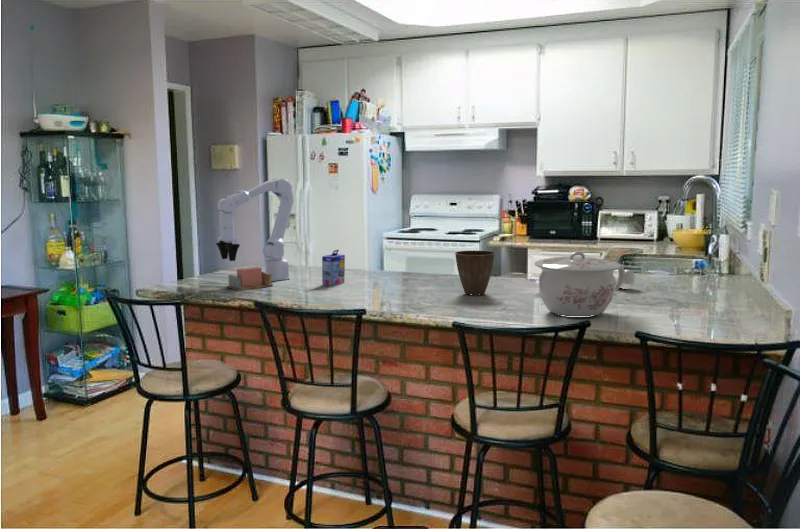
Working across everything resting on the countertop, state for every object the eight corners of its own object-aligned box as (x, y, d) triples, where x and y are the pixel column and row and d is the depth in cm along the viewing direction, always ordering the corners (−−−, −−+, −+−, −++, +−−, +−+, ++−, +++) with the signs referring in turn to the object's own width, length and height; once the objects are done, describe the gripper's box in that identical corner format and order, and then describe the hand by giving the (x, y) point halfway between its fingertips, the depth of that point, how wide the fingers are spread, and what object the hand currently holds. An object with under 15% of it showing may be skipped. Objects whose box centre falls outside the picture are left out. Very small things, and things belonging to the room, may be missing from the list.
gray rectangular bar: (231, 285, 266) (231, 274, 265) (241, 288, 259) (240, 277, 258) (228, 285, 265) (228, 275, 264) (238, 288, 258) (237, 277, 257)
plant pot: (447, 294, 246) (447, 253, 244) (467, 288, 258) (468, 249, 256) (481, 299, 237) (482, 256, 235) (501, 293, 249) (501, 252, 247)
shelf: (261, 282, 275) (261, 271, 274) (272, 286, 267) (272, 274, 266) (227, 287, 265) (226, 275, 264) (237, 290, 257) (237, 278, 257)
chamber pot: (524, 319, 206) (526, 254, 203) (542, 302, 231) (543, 245, 228) (616, 327, 195) (619, 259, 192) (624, 309, 220) (627, 248, 217)
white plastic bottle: (598, 282, 272) (598, 263, 270) (635, 289, 256) (636, 269, 255) (584, 284, 267) (585, 265, 266) (621, 291, 252) (622, 271, 250)
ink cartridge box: (332, 286, 266) (332, 251, 264) (321, 285, 268) (320, 250, 266) (345, 282, 274) (345, 248, 272) (334, 281, 277) (334, 248, 275)
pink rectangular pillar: (257, 283, 270) (257, 266, 269) (262, 284, 267) (261, 268, 266) (237, 285, 265) (236, 269, 264) (241, 287, 261) (241, 270, 260)
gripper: (210, 226, 272) (212, 258, 274) (225, 229, 260) (226, 262, 262) (226, 225, 276) (228, 257, 278) (241, 228, 265) (242, 260, 267)
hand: (228, 259), depth 270 cm, fingers open, 7 cm apart
